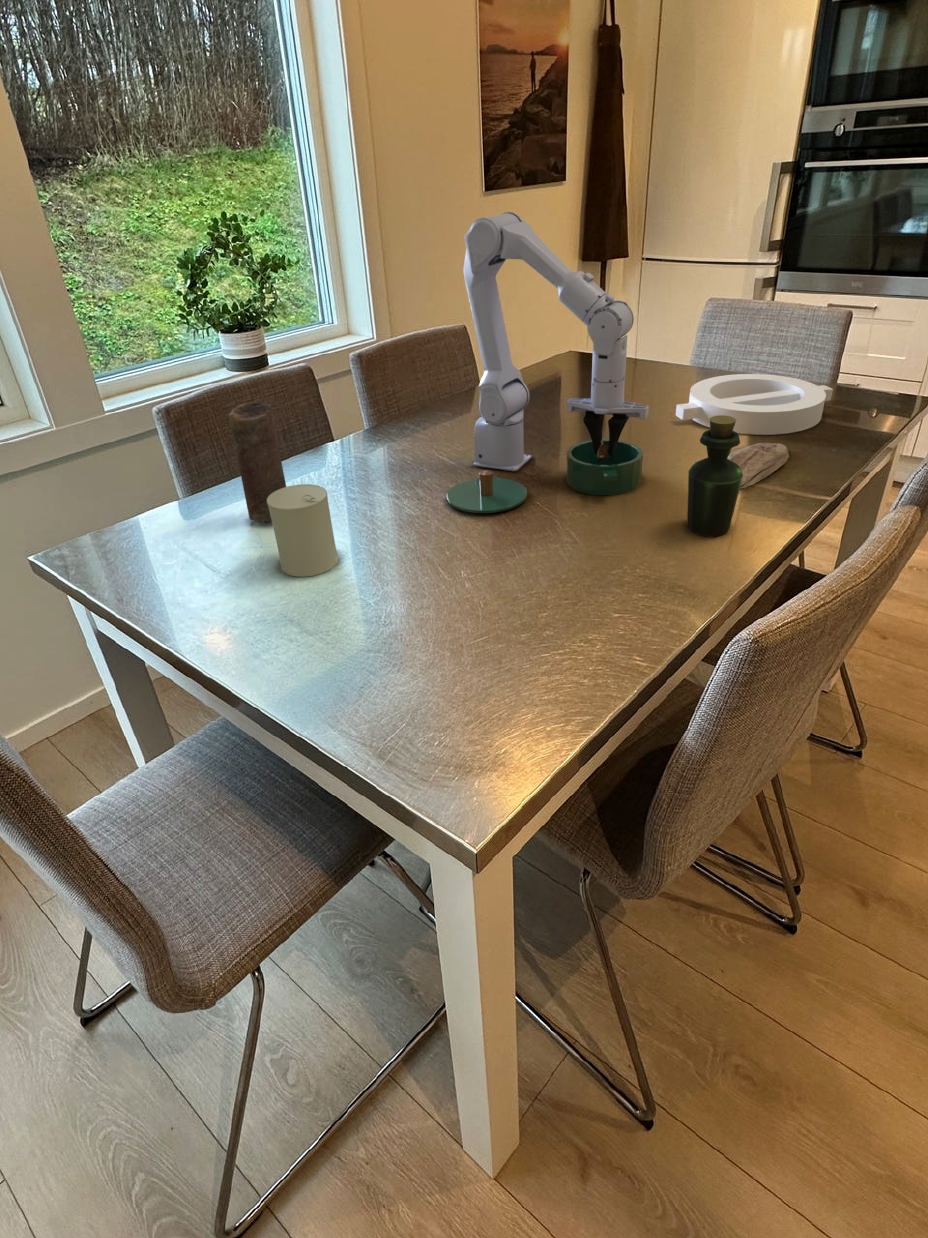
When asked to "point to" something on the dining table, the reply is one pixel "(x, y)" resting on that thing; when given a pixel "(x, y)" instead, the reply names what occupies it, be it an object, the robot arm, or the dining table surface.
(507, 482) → the pot lid
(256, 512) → the candle
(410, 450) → the dining table surface
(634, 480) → the pot
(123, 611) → the dining table surface
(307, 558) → the can
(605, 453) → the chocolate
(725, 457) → the potion bottle
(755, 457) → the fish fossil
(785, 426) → the white circle with bar
